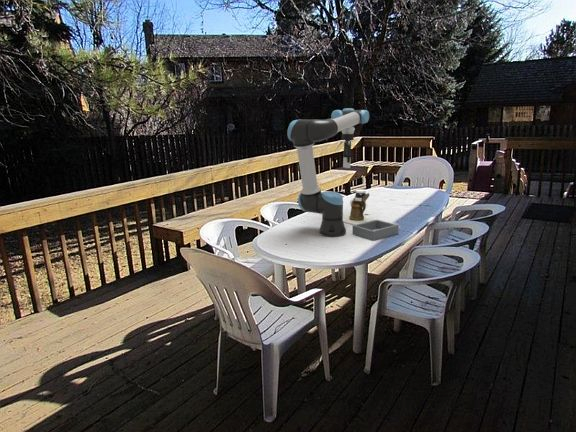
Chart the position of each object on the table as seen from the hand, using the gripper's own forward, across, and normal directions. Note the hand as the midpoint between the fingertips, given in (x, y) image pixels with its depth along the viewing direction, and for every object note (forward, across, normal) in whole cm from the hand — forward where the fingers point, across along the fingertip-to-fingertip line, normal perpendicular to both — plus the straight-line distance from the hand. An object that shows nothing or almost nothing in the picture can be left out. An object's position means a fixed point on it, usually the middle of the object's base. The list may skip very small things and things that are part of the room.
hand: (346, 167), depth 272 cm
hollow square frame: (+36, -37, -13) cm, 53 cm away
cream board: (+33, -6, -6) cm, 34 cm away
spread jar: (+28, +34, -14) cm, 47 cm away
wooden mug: (+32, -7, -8) cm, 34 cm away
